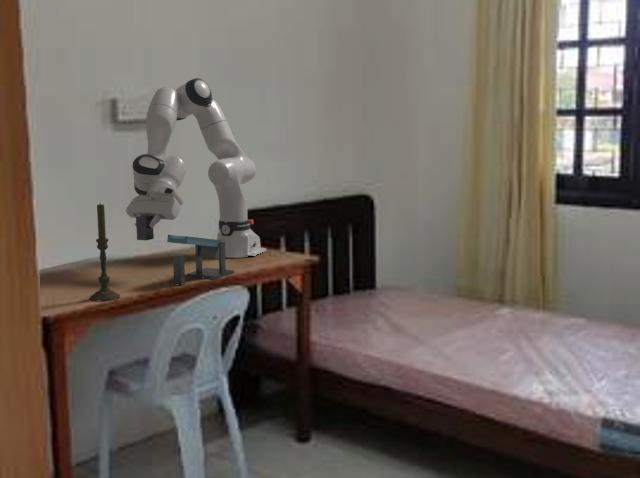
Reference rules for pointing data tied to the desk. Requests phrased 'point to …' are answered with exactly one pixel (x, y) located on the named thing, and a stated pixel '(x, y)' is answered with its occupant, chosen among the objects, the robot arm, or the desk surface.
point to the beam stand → (200, 266)
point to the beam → (207, 245)
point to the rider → (144, 228)
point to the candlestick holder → (103, 259)
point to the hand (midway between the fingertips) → (143, 226)
